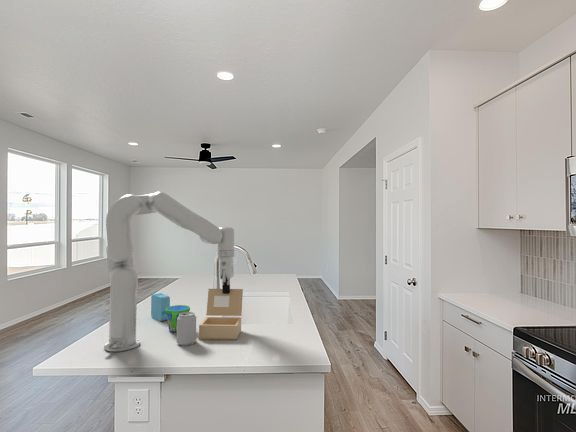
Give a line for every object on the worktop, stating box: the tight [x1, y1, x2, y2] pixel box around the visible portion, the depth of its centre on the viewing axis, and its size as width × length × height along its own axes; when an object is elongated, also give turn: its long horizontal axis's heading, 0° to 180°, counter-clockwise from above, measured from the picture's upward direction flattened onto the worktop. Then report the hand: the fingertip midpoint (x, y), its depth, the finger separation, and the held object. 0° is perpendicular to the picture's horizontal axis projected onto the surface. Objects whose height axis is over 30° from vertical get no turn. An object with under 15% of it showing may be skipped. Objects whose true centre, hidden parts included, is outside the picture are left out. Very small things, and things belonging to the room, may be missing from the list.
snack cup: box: [166, 304, 191, 333], centre depth 149 cm, size 16×11×10 cm
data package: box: [150, 292, 171, 322], centre depth 167 cm, size 12×4×12 cm, turn 46°
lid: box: [206, 288, 244, 317], centre depth 152 cm, size 12×16×1 cm
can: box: [176, 311, 197, 347], centre depth 133 cm, size 8×8×12 cm
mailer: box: [198, 316, 242, 341], centre depth 143 cm, size 12×16×6 cm
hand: (226, 293), depth 152 cm, fingers closed
